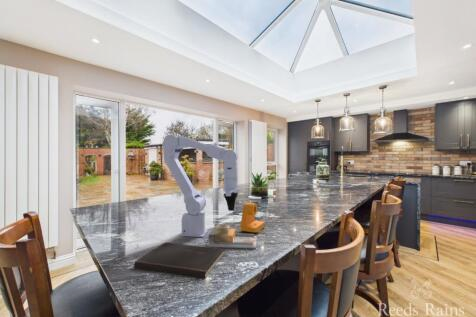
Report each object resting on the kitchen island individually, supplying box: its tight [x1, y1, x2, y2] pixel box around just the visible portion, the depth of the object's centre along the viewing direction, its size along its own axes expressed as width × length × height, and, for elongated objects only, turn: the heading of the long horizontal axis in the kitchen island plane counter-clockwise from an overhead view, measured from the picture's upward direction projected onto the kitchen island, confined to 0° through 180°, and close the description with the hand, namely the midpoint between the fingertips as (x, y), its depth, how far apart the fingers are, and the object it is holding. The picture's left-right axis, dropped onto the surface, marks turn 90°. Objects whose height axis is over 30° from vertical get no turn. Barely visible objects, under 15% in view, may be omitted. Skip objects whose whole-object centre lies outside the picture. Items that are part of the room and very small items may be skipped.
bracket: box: [240, 202, 265, 233], centre depth 101 cm, size 11×7×12 cm, turn 151°
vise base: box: [206, 227, 258, 249], centre depth 86 cm, size 18×10×4 cm, turn 83°
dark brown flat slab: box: [133, 242, 225, 280], centre depth 71 cm, size 16×23×2 cm
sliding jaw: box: [227, 228, 237, 242], centre depth 86 cm, size 2×8×3 cm, turn 173°
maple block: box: [214, 224, 231, 241], centre depth 86 cm, size 5×4×5 cm
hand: (231, 210), depth 94 cm, fingers closed
